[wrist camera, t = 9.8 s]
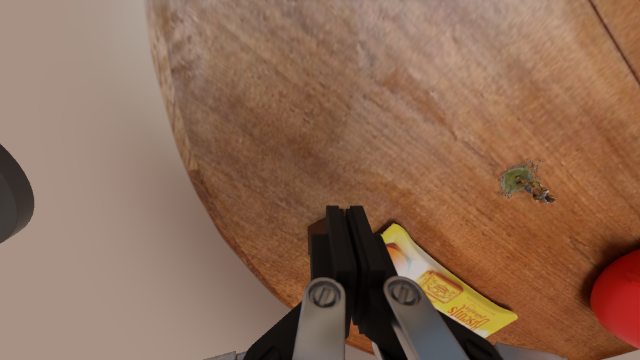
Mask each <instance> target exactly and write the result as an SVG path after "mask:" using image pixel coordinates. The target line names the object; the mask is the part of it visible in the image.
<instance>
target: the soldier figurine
mask: <svg viewBox="0 0 640 360" xmlns="http://www.w3.org/2000/svg"><path fill="white" fill-rule="evenodd" d="M526 160H528V159H526ZM540 161H541V160H539V162H540ZM526 162H527V161H526ZM530 162H531V161H530V160H529V163H530ZM542 162H543V161H542ZM521 165H522V164H521ZM532 165H534V163H533V162H532ZM518 166H520V165H518ZM518 166H516V168H513V167H514V166H513V167H512V168H513V170H512V169H509V170H507V171H508V172H505V173H504V175H503V177H502V178H504V179H503V180H504V181H502V180H501V181H502V182H503V183H502V184H501V185H503V186H501V187H502V189H505V190H507V191H505V192H506V194H507V193H508V194H509V193H510V194H512V193H513V192H514V193H515V191H517V190H519V192H520V190H521V189H523V188H524V189H523V190H526V191H527V192H528V193H531V194H533V199H534V200H535V201H537V202H538V201H540V203H544V204H547V203H551V202H553V201H555V200H556V199H557V198H556V197H554V196H552V195H549V194H548V191H549V190H547V189H546V188H543V186H542V185H541V184H540V182H534V181H533V180H535V179H537V178H538V177H537V178H534V179H533V180H531V176H532V177H533V175H532V173H533V172H532V173H531V174H530V173H529V172H530V170H528V169H529V168H528V167H529V166H528V167H527V166H526V165H523V166H524V167H525V168H524V167H523V168H521V167H519V168H518ZM537 166H538V165H537ZM537 166H536V172H537V170H538V167H537ZM526 167H527V168H526ZM532 167H533V166H532ZM532 170H533V169H532ZM534 173H535V172H534ZM540 180H541V178H540ZM498 181H499V180H498ZM539 184H540V185H539ZM502 189H500V190H502ZM523 190H522V191H523ZM501 195H503V192H502V193H501ZM504 196H506V195H504ZM509 196H510V195H509ZM536 196H537V197H538V199H537V197H536ZM507 197H508V196H507ZM510 197H512V195H511V196H510ZM510 197H508V198H510ZM501 199H502V198H501ZM502 205H503V204H502Z"/></svg>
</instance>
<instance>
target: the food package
mask: <svg viewBox="0 0 640 360" xmlns="http://www.w3.org/2000/svg"><path fill="white" fill-rule="evenodd" d="M381 235H382V237H383V240H384V242H385V244H386V247H387V249H388V252H389V254H390V256H391V259H392V261H393V264H394V266H395V268H396V271H397V273H398V276H403V277H407V278H409V279H412V280H413V281H415V282H416V283H417V284H419V286H420V287H421V288H422V289H423V291H424V292H425V294H426V295H427V297H428V298H429V300H430V301H431V302H432V304H433V305H434V307H435V308H436V309H437V310H439V311H441V312H442V313H444V314H446V315H447V316H449V317H450V318H452V319H454V320H455V321H457V322H459V323H460V324H462V325H464V326H465V327H467V328H468V329H470V330H472V331H473V332H475V333H477V334H478V335H480V336H481V337H483V338H485V337H488V336H489V335H491V334H493V333H494V332H496V331H497V330H499V329H501V328H502V327H504V326H506V325H507V324H509V323H510V322H512V321H514V320H516V319H518V316H517V315H516V314H515V313H513V312H511V311H509V310H506V309H503V308H501V307H499V306H497V305H496V304H494V303H493V302H491V301H489V300H488V299H486V298H485V297H483V296H482V295H480V294H479V293H477V292H476V291H474V290H473V289H472V288H470V287H469V286H468V285H466V284H465V283H464V282H462V281H461V280H460V279H458V278H457V277H456V276H454V275H453V274H452V273H450V272H449V271H448V270H446V269H445V268H444V267H442V266H441V265H440V264H439V263H437V262H436V261H435V260H434V259H433V258H431V257H430V256H429V255H428V254H427V253H425V252H424V251H423V250H422V249H421V248H420V247H419V246H418V245H416V244H415V243H414V242H413V240H412V239H411V238H410V236H409V235H408V233H407V232H406V231H405V230H404V229H403V228H402V227H400V226H399V225H397V224H393V225H391V226H390V227H389V228H388V229H387V230H386V231H384V232H383V234H381Z"/></svg>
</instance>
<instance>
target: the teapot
mask: <svg viewBox="0 0 640 360" xmlns="http://www.w3.org/2000/svg"><path fill="white" fill-rule="evenodd" d="M590 302H591V308H592V310H593V312H594V314H595V316H596V317H597V319H598V320H599V322H600V323H601V324H602V326H603V327H605V328H606V329H607V330H609V331H610V332H611V333H612V334H614V335H615V336H617V337H619V338H620V339H622V340H623V341H625V342H627V343H628V344H630V345H632V346H634V347H636V348H638V349H640V249H637V250H634V251H632V252H630V253H628V254H626V255H624V256H622V257H620V258H618V259H616V260H615V261H614V262H613V263H611V264H610V265H609V266H607V267H606V268H605V269H604V270H603V271H602V273H601V274H600V275H599V276H598V278H597V279H596V282H595V283H594V285H593V289H592V293H591V298H590Z"/></svg>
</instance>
